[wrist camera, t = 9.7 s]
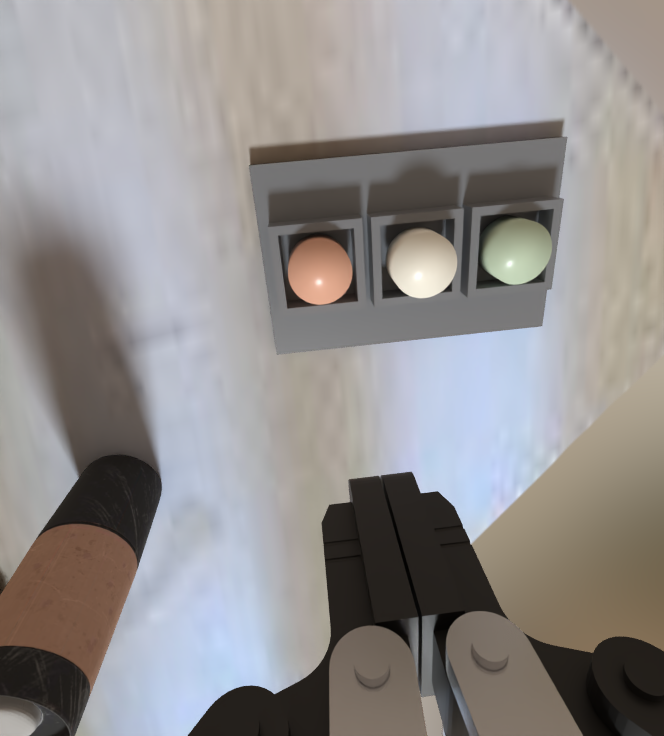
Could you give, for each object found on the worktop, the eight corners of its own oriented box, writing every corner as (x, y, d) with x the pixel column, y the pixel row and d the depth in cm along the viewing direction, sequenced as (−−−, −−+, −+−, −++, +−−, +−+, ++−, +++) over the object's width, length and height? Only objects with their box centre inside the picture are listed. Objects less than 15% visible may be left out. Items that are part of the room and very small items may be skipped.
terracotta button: (284, 237, 32) (284, 244, 30) (346, 231, 32) (350, 237, 30) (291, 297, 34) (292, 307, 32) (350, 291, 34) (354, 301, 32)
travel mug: (137, 440, 40) (13, 675, 22) (180, 500, 43) (103, 748, 25) (61, 469, 41) (-119, 720, 23) (109, 526, 44) (-15, 785, 26)
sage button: (478, 218, 33) (492, 223, 30) (537, 212, 33) (556, 217, 31) (474, 278, 34) (487, 287, 32) (531, 272, 35) (547, 281, 32)
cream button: (384, 229, 32) (391, 236, 29) (446, 223, 32) (458, 229, 29) (386, 291, 33) (393, 301, 31) (444, 285, 34) (455, 294, 31)
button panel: (250, 165, 31) (246, 166, 29) (559, 137, 32) (584, 135, 29) (277, 349, 37) (276, 365, 35) (536, 321, 38) (554, 335, 36)
